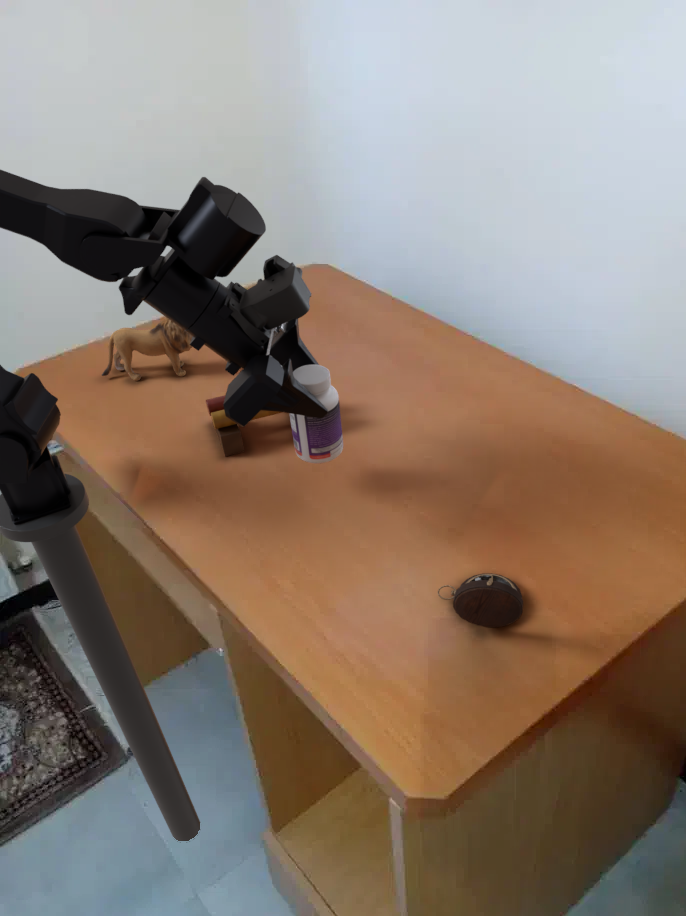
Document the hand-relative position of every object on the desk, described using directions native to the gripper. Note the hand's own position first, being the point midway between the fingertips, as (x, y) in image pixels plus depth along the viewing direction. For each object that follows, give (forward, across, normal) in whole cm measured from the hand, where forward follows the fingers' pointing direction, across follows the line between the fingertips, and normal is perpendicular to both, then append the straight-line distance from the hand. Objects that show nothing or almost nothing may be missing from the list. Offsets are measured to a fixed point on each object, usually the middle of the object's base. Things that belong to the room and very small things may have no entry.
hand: (326, 399), depth 83 cm
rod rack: (+2, +11, +14) cm, 18 cm away
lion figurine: (-10, +26, +26) cm, 38 cm away
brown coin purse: (+18, -20, -2) cm, 27 cm away
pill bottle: (+4, 0, +6) cm, 7 cm away
